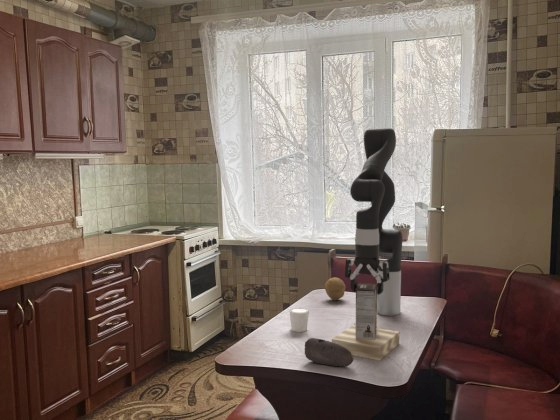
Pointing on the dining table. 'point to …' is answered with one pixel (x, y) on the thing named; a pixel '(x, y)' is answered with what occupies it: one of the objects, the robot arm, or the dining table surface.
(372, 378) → the dining table surface
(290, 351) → the dining table surface
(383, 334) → the birch plinth
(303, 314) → the white faceted cup
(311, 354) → the perforated stone tool
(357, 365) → the dining table surface
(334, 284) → the natural sponge
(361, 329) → the coffee box
